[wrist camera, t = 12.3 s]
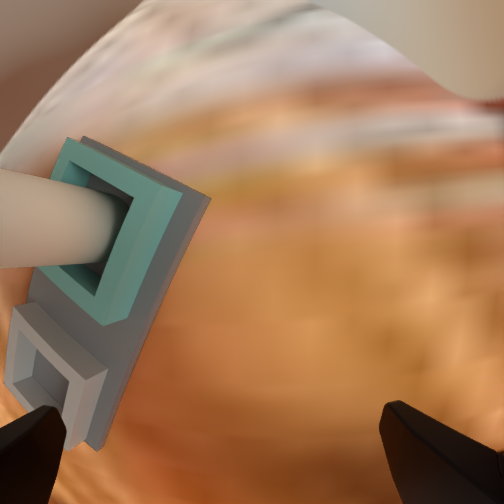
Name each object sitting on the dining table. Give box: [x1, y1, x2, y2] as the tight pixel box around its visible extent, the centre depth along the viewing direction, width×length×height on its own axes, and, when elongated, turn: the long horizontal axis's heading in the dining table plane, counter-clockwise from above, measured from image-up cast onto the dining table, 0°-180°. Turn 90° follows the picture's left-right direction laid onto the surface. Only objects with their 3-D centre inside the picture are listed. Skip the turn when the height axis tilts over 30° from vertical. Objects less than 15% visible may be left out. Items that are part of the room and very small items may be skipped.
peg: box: [0, 168, 129, 269], centre depth 12 cm, size 4×4×14 cm
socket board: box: [4, 136, 211, 452], centre depth 19 cm, size 22×11×4 cm, turn 152°
